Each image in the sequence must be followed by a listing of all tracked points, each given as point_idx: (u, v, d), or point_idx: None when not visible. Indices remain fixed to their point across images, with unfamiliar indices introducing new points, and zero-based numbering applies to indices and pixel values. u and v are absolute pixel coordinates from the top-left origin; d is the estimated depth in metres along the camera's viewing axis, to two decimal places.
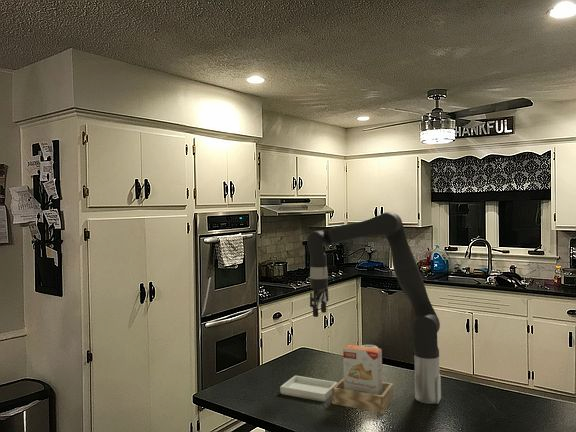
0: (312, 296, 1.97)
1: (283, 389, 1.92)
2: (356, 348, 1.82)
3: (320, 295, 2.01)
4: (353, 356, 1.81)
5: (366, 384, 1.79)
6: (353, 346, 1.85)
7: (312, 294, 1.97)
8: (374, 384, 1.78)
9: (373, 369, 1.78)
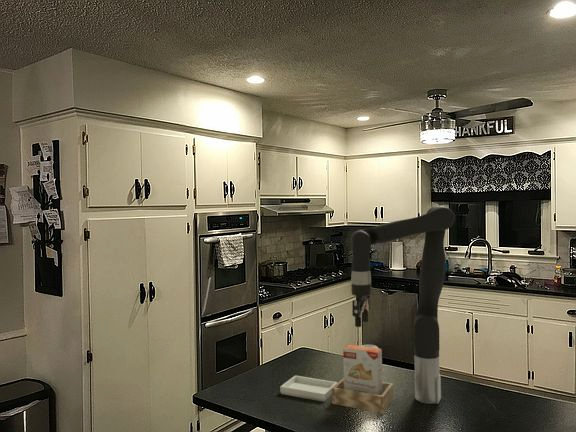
0: (355, 304, 1.76)
1: (283, 389, 1.92)
2: (356, 348, 1.82)
3: (363, 303, 1.80)
4: (353, 356, 1.81)
5: (366, 384, 1.79)
6: (353, 346, 1.85)
7: (355, 302, 1.76)
8: (374, 384, 1.78)
9: (373, 369, 1.78)
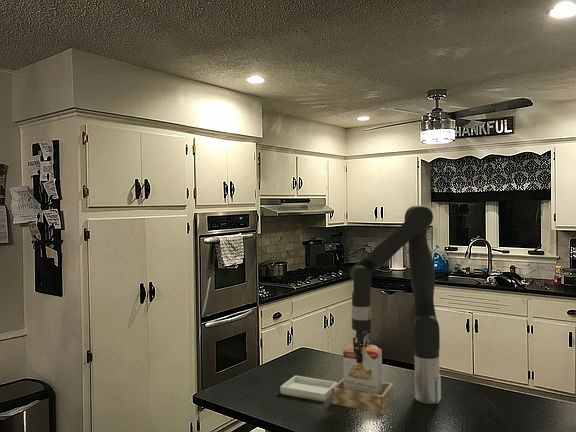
0: (355, 342, 1.77)
1: (283, 389, 1.92)
2: None
3: (363, 338, 1.80)
4: (353, 356, 1.81)
5: (366, 384, 1.79)
6: None
7: (355, 339, 1.77)
8: (374, 384, 1.78)
9: (373, 368, 1.78)
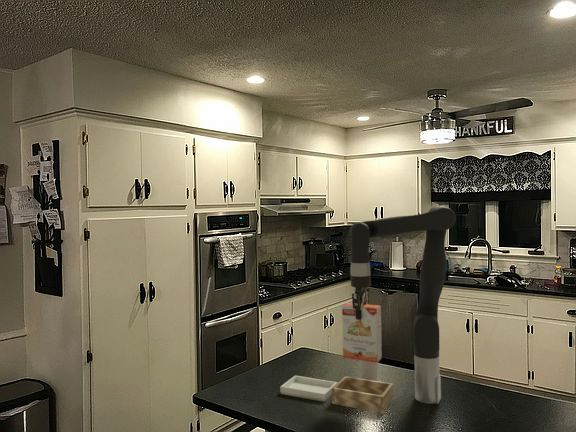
0: (354, 297, 1.76)
1: (283, 389, 1.92)
2: None
3: (362, 295, 1.80)
4: (352, 313, 1.81)
5: (365, 341, 1.79)
6: (352, 304, 1.84)
7: (354, 295, 1.76)
8: (373, 340, 1.78)
9: (372, 325, 1.77)
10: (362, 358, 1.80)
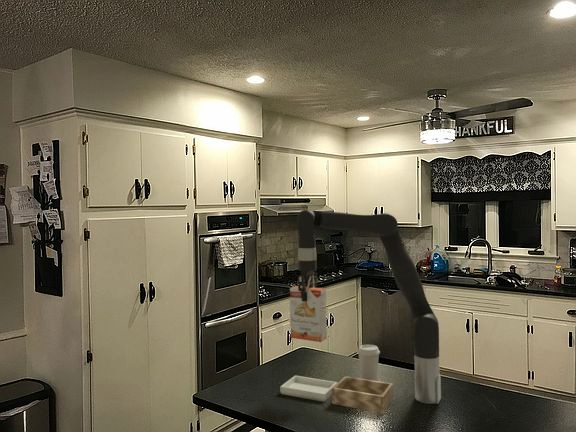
0: (300, 280, 1.87)
1: (283, 389, 1.92)
2: None
3: (308, 278, 1.90)
4: (298, 295, 1.91)
5: (310, 322, 1.89)
6: None
7: (300, 278, 1.87)
8: (317, 320, 1.88)
9: (317, 306, 1.88)
10: (307, 338, 1.90)
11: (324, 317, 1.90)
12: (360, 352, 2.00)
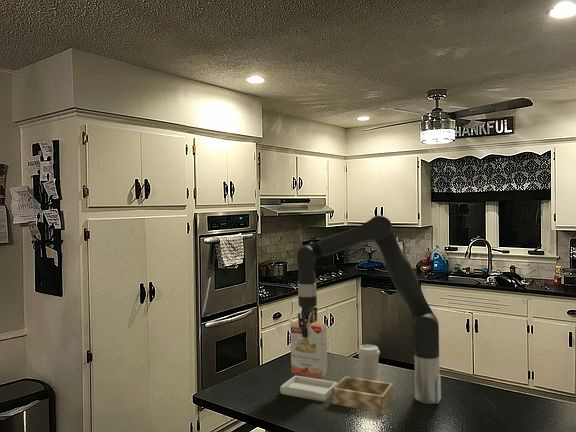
0: (300, 317, 1.87)
1: (283, 389, 1.92)
2: None
3: (309, 314, 1.90)
4: (299, 331, 1.92)
5: (311, 357, 1.90)
6: None
7: (300, 315, 1.87)
8: (318, 357, 1.88)
9: (317, 342, 1.88)
10: (308, 374, 1.91)
11: (325, 353, 1.91)
12: (360, 352, 2.00)
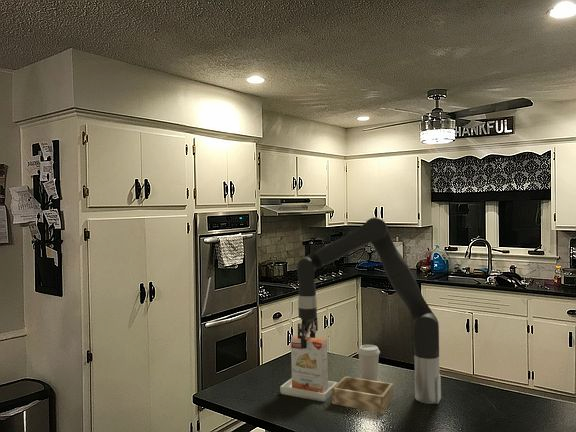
0: (300, 327, 1.87)
1: (283, 389, 1.92)
2: None
3: (308, 325, 1.91)
4: (299, 347, 1.92)
5: (311, 373, 1.90)
6: None
7: (300, 325, 1.87)
8: (319, 372, 1.88)
9: (318, 358, 1.88)
10: (309, 389, 1.91)
11: (325, 368, 1.91)
12: (360, 352, 2.00)
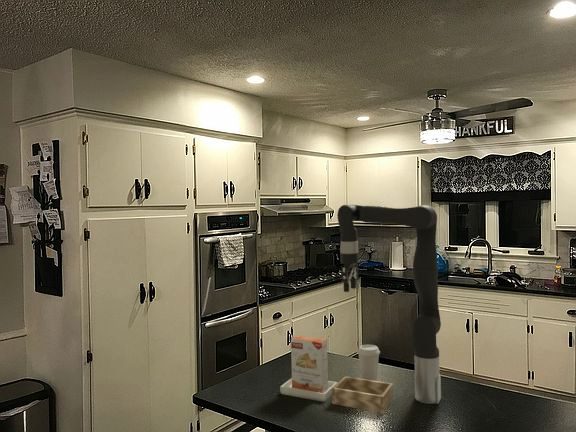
0: (343, 270, 1.94)
1: (283, 389, 1.92)
2: (303, 339, 1.93)
3: (351, 270, 1.97)
4: (300, 347, 1.92)
5: (311, 373, 1.90)
6: (301, 337, 1.95)
7: (343, 268, 1.94)
8: (319, 372, 1.88)
9: (318, 358, 1.88)
10: (309, 389, 1.91)
11: (325, 368, 1.91)
12: (360, 352, 2.00)
